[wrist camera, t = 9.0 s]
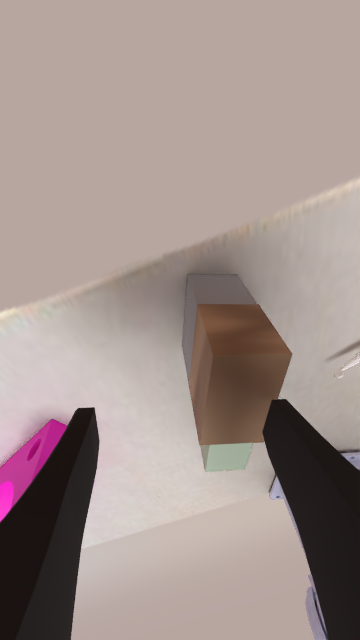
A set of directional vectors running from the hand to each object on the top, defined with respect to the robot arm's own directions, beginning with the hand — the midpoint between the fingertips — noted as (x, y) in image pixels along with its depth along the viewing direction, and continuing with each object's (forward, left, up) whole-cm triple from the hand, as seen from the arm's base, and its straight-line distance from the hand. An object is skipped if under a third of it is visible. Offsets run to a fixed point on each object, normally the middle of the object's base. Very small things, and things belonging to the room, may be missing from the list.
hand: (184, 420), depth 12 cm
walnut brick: (-3, +1, -6) cm, 7 cm away
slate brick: (-3, +1, -10) cm, 11 cm away
